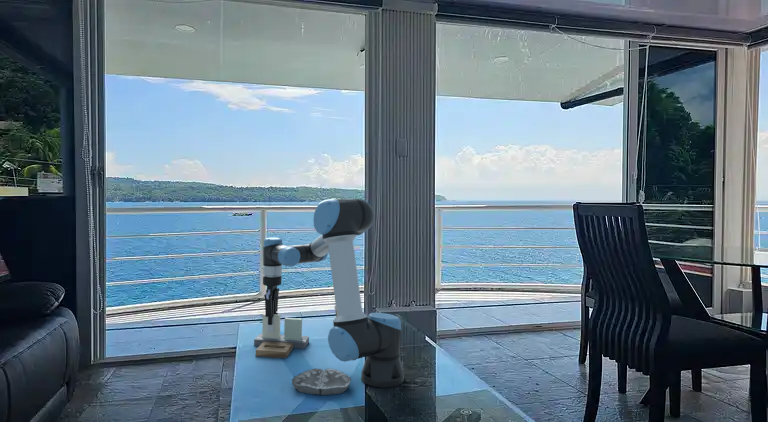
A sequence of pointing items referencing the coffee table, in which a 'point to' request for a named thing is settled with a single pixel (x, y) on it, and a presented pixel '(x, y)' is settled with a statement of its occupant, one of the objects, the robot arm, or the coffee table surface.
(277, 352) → the frame
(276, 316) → the pale green slab
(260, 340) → the grey slotted plate
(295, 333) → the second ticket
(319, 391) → the brain slice
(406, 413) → the coffee table surface
